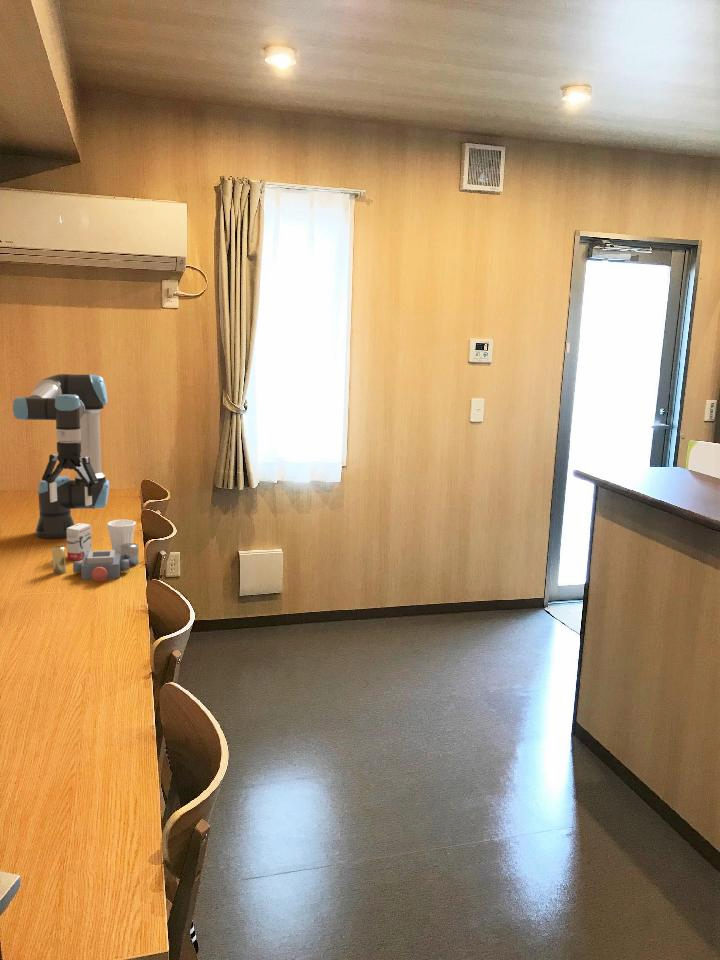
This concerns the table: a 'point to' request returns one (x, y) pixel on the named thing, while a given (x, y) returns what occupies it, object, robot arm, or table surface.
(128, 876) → the table surface
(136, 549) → the steel nipple large
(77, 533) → the ink box
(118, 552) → the cup
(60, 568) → the brass cylinder
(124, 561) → the valve body
